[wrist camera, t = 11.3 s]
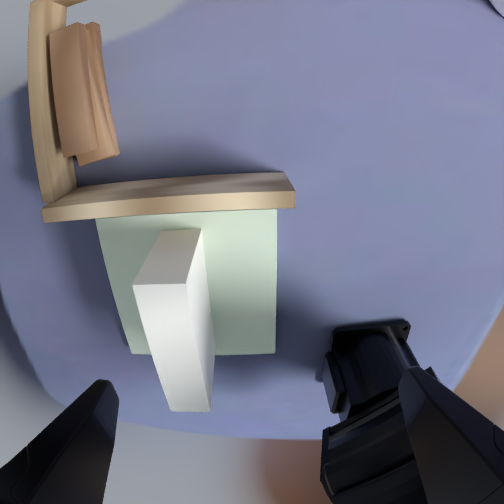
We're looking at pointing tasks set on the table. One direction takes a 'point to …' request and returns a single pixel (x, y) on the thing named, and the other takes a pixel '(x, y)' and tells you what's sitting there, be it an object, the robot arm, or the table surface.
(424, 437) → the robot arm
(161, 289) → the white block
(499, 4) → the drinking glass
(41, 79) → the rack
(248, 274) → the mat
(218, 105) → the table surface
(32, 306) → the table surface
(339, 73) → the table surface
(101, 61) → the offcut stack
